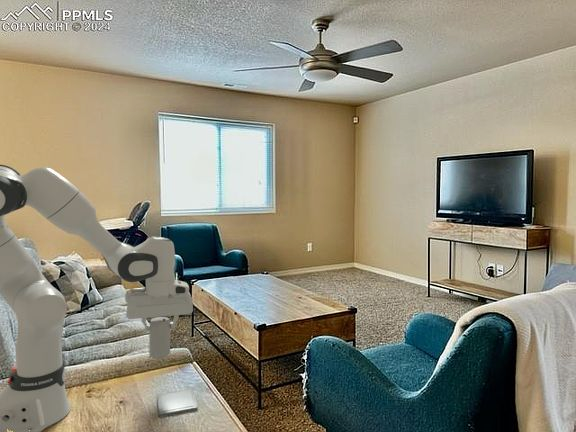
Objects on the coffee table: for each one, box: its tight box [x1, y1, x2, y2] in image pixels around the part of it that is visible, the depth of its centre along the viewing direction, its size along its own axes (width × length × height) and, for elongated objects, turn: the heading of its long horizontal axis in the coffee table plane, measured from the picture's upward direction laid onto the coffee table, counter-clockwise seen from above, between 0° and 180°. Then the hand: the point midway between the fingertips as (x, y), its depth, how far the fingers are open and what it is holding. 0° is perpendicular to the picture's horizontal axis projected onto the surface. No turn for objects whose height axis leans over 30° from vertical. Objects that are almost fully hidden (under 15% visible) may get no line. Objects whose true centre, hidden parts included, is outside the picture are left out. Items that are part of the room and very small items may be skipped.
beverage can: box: [148, 316, 171, 360], centre depth 126 cm, size 6×6×12 cm
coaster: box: [157, 387, 198, 418], centre depth 120 cm, size 11×11×1 cm
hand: (160, 329), depth 126 cm, fingers closed on beverage can, 6 cm apart
